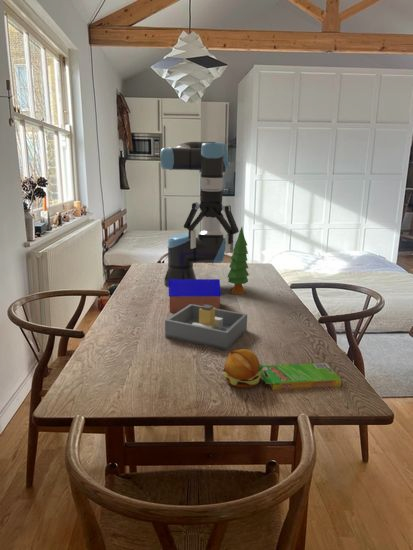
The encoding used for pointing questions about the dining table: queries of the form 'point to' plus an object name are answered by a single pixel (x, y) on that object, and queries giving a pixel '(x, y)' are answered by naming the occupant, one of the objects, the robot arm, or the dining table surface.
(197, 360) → the dining table surface
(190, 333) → the box
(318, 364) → the game box
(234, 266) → the decorative tree
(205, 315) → the yellow jar
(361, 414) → the dining table surface
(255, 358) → the cheeseburger
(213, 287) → the house
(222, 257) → the robot arm
